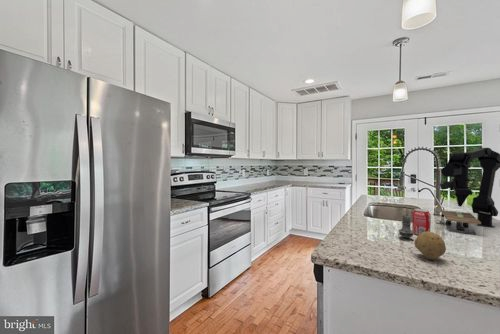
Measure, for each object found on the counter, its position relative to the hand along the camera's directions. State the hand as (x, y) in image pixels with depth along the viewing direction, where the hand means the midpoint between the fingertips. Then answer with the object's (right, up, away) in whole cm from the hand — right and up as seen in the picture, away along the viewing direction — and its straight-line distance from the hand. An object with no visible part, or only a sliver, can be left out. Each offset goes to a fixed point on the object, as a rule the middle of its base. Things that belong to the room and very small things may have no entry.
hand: (459, 206), depth 119 cm
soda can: (-27, -12, -9) cm, 31 cm away
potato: (-44, -13, -36) cm, 59 cm away
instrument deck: (0, -6, 0) cm, 6 cm away
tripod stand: (0, -12, 0) cm, 12 cm away
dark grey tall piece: (-39, -13, -15) cm, 44 cm away
